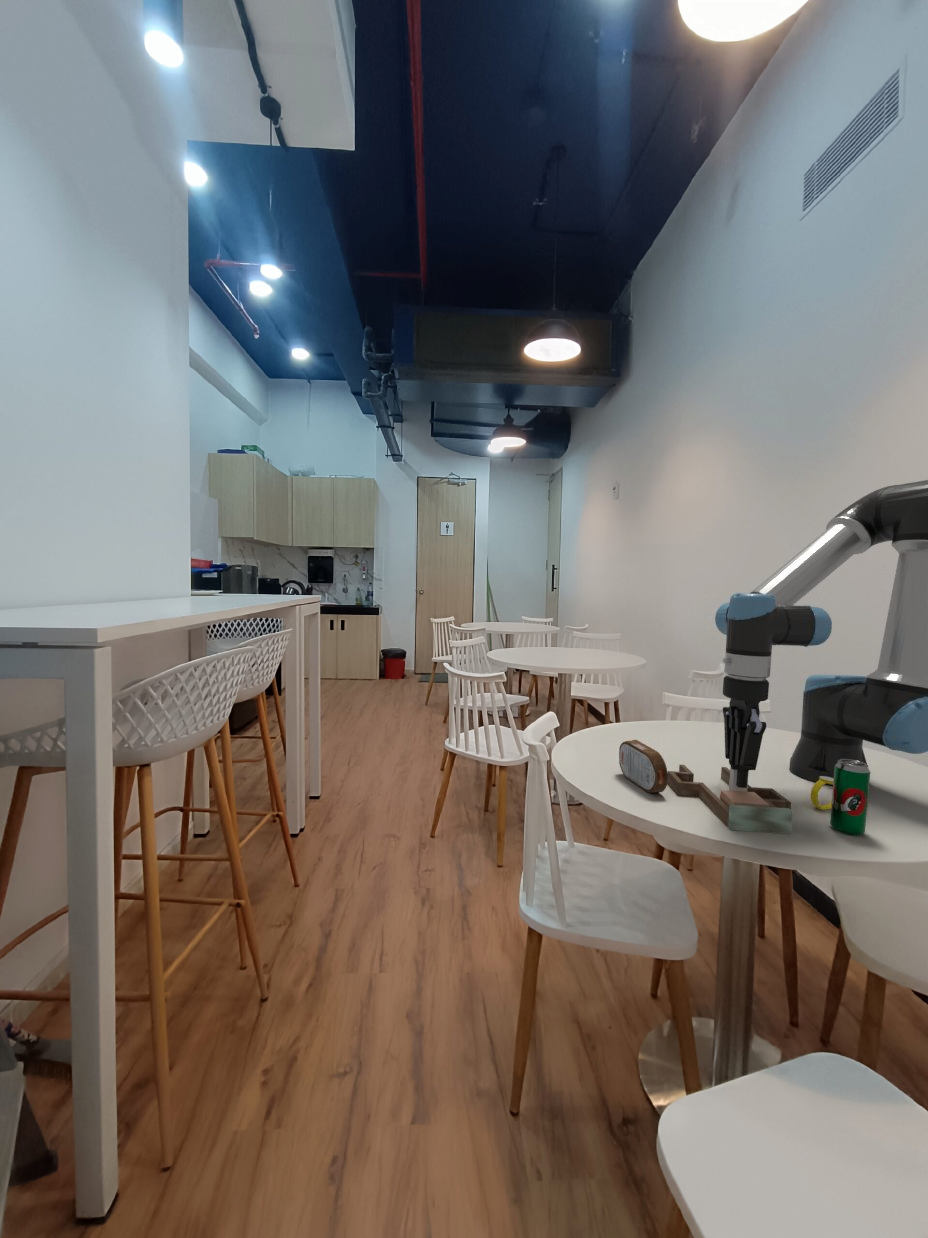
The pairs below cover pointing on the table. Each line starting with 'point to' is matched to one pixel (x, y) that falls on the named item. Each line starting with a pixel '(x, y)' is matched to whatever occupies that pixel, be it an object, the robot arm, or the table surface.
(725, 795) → the block
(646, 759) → the tin
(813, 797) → the watch
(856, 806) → the soda can
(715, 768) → the table surface
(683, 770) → the box
